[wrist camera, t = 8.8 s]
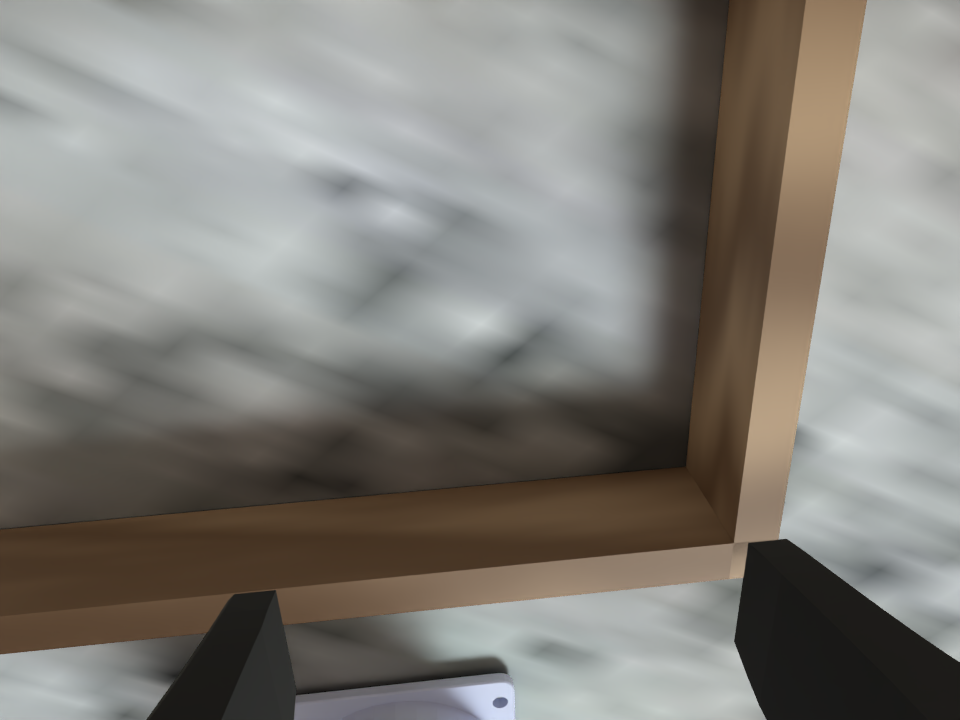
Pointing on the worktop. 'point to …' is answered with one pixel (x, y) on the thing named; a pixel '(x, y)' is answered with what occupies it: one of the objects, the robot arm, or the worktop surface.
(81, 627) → the wooden frame
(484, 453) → the worktop surface
